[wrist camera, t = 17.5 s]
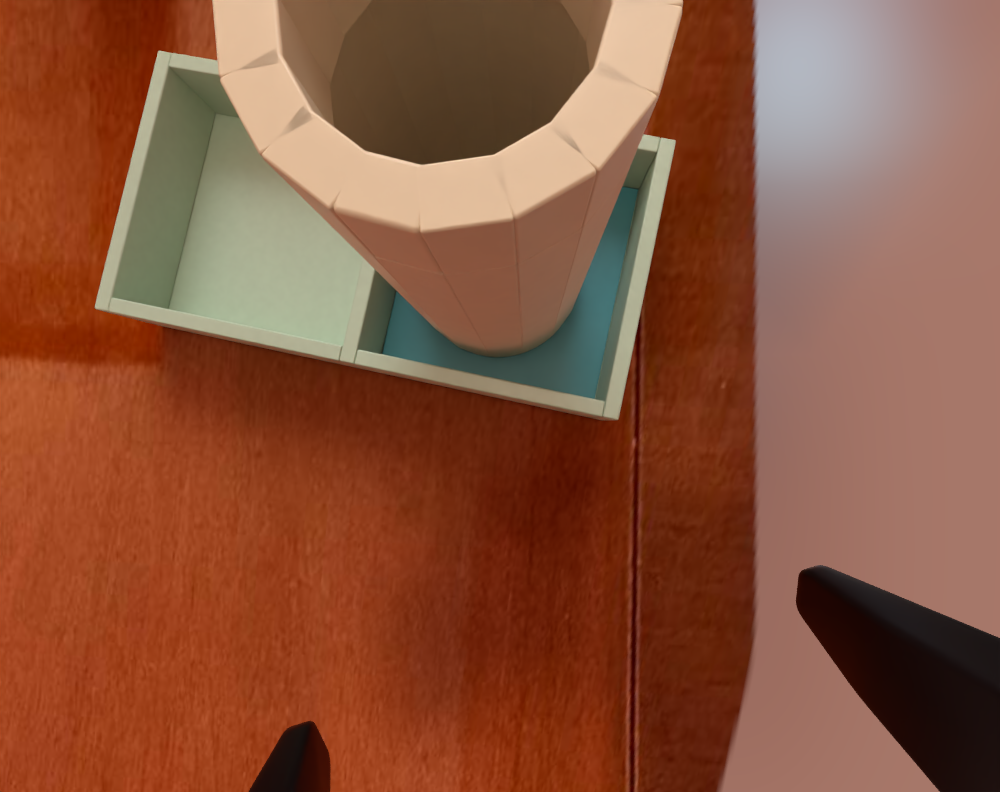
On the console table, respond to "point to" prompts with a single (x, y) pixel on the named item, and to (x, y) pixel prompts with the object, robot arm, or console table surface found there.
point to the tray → (340, 263)
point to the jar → (455, 139)
